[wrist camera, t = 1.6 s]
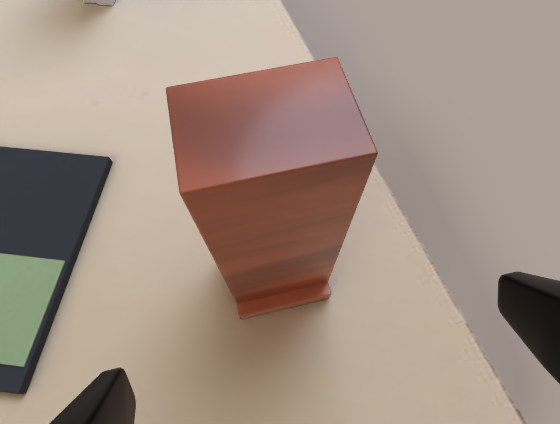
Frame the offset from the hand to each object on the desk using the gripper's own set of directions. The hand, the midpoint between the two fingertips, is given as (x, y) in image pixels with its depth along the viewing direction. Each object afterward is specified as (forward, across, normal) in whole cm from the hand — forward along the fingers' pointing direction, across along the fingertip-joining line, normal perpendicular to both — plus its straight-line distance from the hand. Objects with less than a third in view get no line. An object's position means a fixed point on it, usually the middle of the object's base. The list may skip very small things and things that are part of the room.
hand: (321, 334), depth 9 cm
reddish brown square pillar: (+12, 0, +4) cm, 13 cm away
